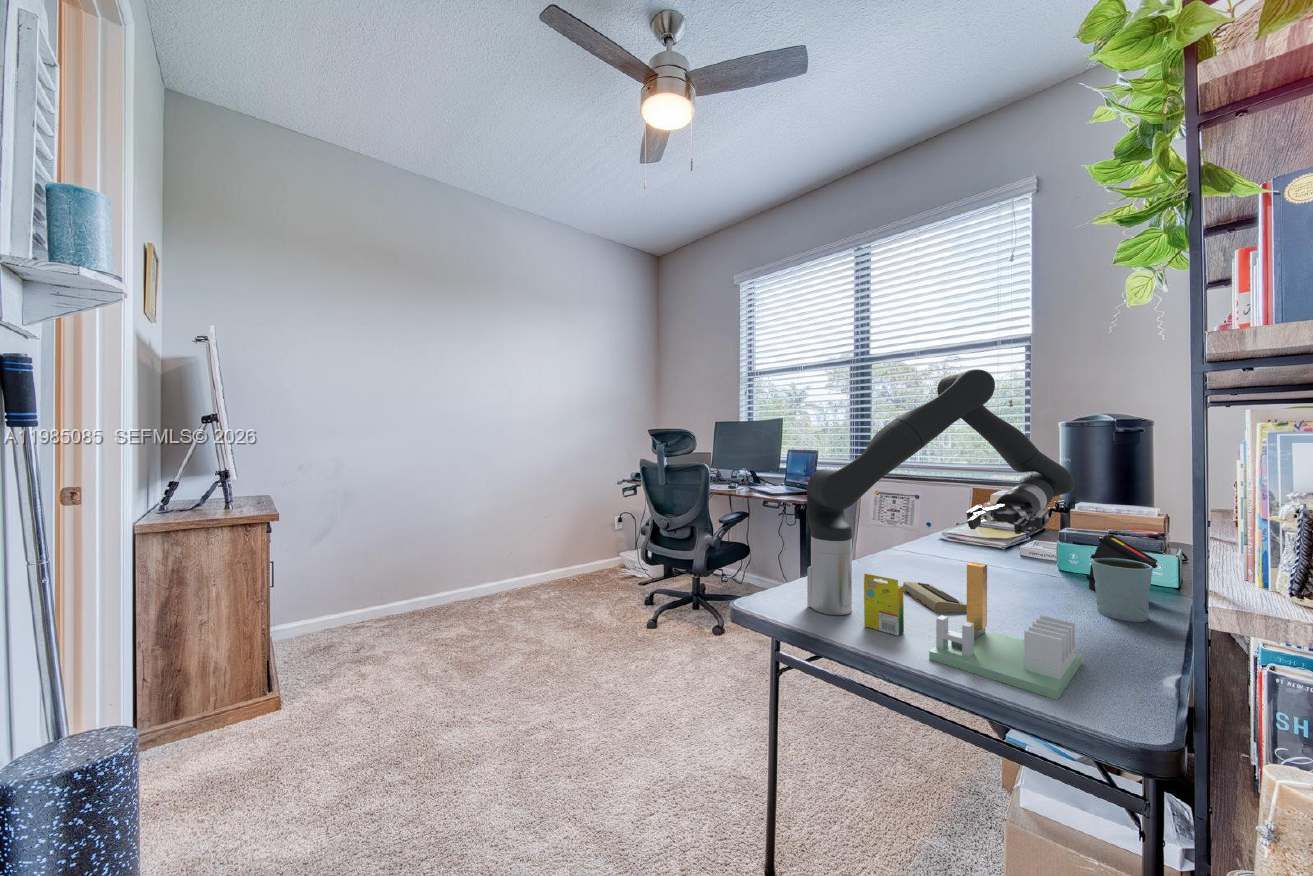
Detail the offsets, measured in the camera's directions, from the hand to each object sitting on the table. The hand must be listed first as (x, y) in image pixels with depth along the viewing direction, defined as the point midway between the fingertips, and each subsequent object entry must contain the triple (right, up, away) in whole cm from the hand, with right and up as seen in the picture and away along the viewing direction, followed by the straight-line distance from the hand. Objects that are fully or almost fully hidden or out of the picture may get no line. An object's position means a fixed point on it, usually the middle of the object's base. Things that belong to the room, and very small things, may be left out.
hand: (993, 527), depth 106 cm
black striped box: (+48, -22, +22) cm, 57 cm away
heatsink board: (-7, -22, -13) cm, 27 cm away
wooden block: (-10, -21, -8) cm, 24 cm away
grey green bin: (+35, -22, +9) cm, 43 cm away
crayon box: (-23, -22, +1) cm, 32 cm away
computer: (-2, -22, +19) cm, 29 cm away
